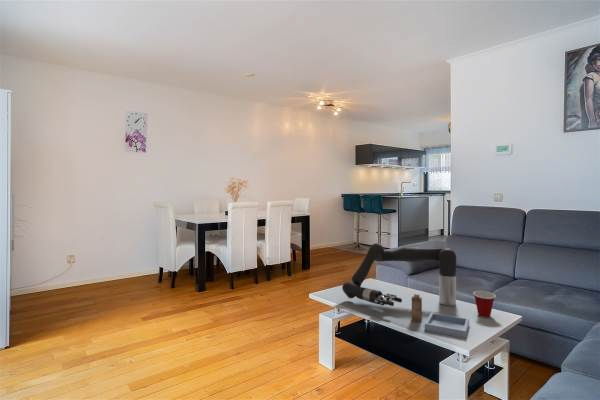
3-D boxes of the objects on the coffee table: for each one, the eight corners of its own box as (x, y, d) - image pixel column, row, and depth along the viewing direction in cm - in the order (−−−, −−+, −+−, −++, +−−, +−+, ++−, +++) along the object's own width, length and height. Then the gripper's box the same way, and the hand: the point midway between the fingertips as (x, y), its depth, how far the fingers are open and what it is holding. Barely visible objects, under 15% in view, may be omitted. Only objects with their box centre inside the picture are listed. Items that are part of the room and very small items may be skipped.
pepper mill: (412, 318, 179) (412, 292, 179) (422, 319, 176) (422, 294, 176) (410, 321, 175) (410, 295, 175) (420, 323, 172) (420, 296, 172)
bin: (431, 318, 178) (431, 312, 178) (469, 325, 169) (469, 318, 169) (424, 330, 163) (424, 323, 163) (465, 338, 154) (465, 331, 154)
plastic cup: (474, 317, 179) (474, 295, 179) (471, 311, 189) (471, 290, 189) (497, 320, 175) (497, 297, 175) (493, 313, 186) (493, 291, 185)
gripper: (379, 299, 200) (404, 306, 188) (365, 305, 190) (390, 312, 179) (379, 287, 200) (404, 292, 188) (365, 292, 190) (390, 298, 178)
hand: (397, 302), depth 183 cm, fingers open, 8 cm apart
